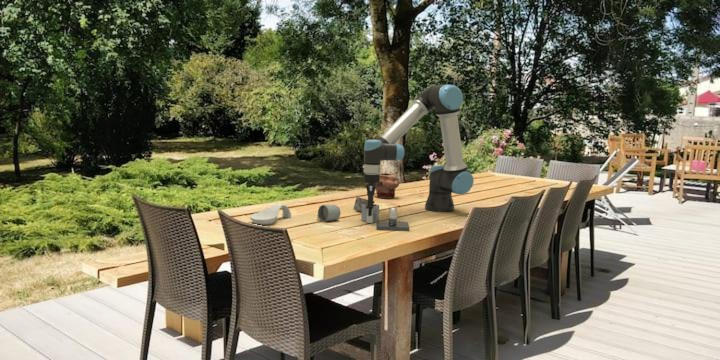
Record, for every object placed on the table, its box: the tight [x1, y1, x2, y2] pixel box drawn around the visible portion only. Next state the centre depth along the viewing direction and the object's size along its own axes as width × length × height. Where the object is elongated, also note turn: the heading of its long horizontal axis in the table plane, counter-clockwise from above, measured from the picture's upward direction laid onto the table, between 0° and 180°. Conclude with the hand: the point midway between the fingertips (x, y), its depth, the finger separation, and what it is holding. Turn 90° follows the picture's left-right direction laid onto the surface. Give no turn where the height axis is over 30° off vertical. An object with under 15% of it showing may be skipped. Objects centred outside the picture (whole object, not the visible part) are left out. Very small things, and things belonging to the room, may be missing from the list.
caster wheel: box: [352, 196, 368, 213], centre depth 285 cm, size 7×11×10 cm
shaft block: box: [376, 207, 410, 232], centre depth 248 cm, size 14×12×8 cm
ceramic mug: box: [317, 204, 341, 223], centre depth 259 cm, size 11×8×8 cm
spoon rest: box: [249, 203, 292, 226], centre depth 253 cm, size 24×12×7 cm, turn 153°
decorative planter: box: [374, 173, 400, 199], centre depth 329 cm, size 20×12×14 cm, turn 58°
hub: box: [360, 203, 380, 223], centre depth 262 cm, size 8×8×7 cm
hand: (369, 219), depth 262 cm, fingers open, 12 cm apart
